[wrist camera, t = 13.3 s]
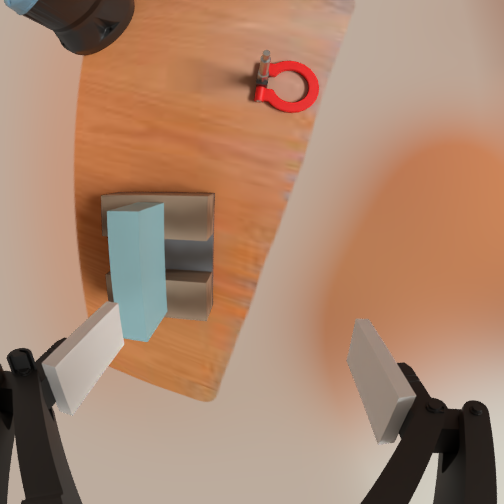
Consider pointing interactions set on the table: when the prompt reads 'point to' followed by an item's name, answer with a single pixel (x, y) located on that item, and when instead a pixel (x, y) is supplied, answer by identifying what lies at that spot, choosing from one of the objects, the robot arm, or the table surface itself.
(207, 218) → the grey grooved block
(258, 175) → the table surface
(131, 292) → the teal beam
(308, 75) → the tow hook
